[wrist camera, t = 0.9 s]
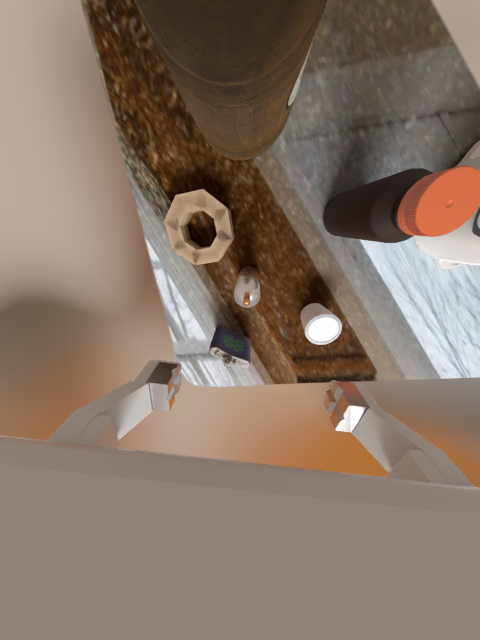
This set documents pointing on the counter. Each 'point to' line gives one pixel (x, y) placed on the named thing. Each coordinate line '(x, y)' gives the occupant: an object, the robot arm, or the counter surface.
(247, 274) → the white candle
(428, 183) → the bottle
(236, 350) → the flask
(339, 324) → the white short cylinder
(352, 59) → the counter surface
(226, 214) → the bead
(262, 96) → the wooden container
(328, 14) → the counter surface
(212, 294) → the counter surface
